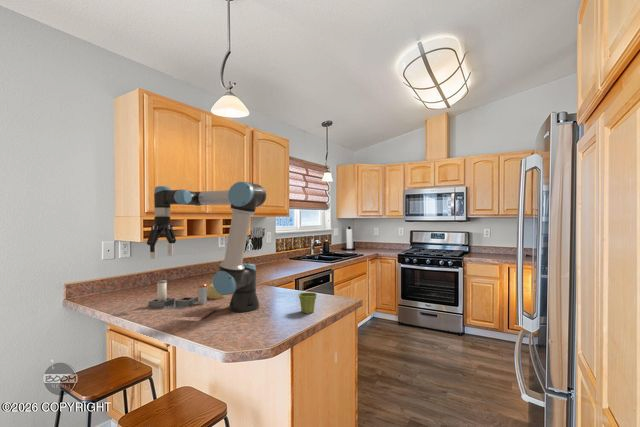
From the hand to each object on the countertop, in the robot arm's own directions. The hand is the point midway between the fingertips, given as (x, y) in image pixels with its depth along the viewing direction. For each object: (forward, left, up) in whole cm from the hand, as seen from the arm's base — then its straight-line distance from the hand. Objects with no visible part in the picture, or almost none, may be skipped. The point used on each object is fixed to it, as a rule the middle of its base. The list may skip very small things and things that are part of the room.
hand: (162, 257), depth 166 cm
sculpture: (-20, -22, -27) cm, 40 cm away
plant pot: (-76, -6, -27) cm, 81 cm away
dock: (-5, -2, -27) cm, 27 cm away
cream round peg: (0, 0, -25) cm, 25 cm away
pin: (-19, -6, -27) cm, 33 cm away
